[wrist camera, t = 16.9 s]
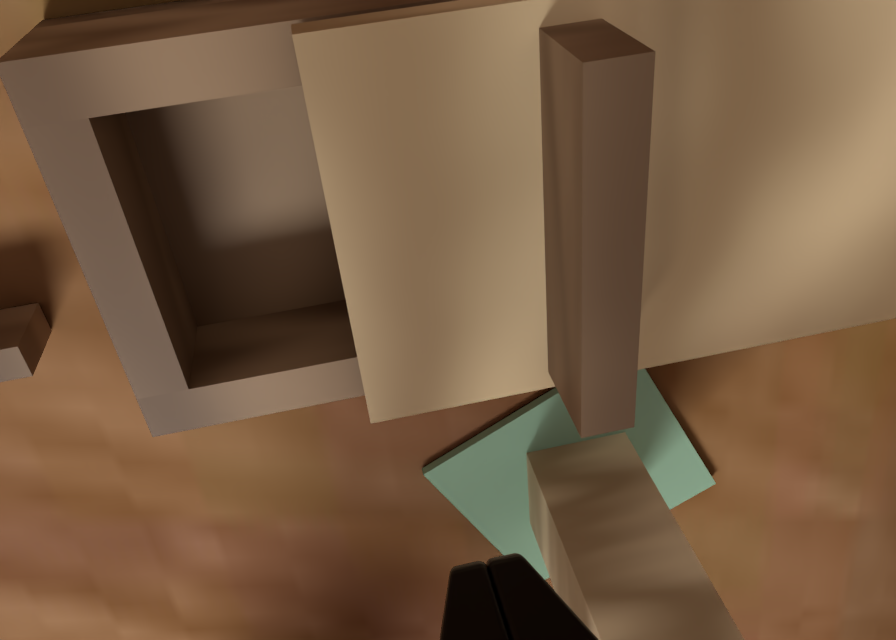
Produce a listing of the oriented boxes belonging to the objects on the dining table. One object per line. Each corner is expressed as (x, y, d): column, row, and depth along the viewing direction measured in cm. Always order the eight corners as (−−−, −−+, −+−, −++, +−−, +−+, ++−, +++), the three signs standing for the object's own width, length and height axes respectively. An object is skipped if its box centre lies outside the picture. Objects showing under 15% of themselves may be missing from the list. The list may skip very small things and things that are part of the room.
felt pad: (531, 579, 30) (534, 585, 30) (421, 468, 26) (423, 474, 26) (712, 477, 29) (715, 483, 29) (628, 342, 25) (632, 348, 24)
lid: (367, 402, 19) (383, 497, 16) (291, 24, 14) (295, 72, 11) (921, 292, 21) (1017, 363, 18) (1033, -83, 15) (1189, -62, 13)
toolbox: (-50, 394, 21) (-101, 486, 18) (-250, 60, 16) (-365, 114, 13) (643, 265, 23) (696, 330, 20) (661, -67, 18) (735, -44, 15)
